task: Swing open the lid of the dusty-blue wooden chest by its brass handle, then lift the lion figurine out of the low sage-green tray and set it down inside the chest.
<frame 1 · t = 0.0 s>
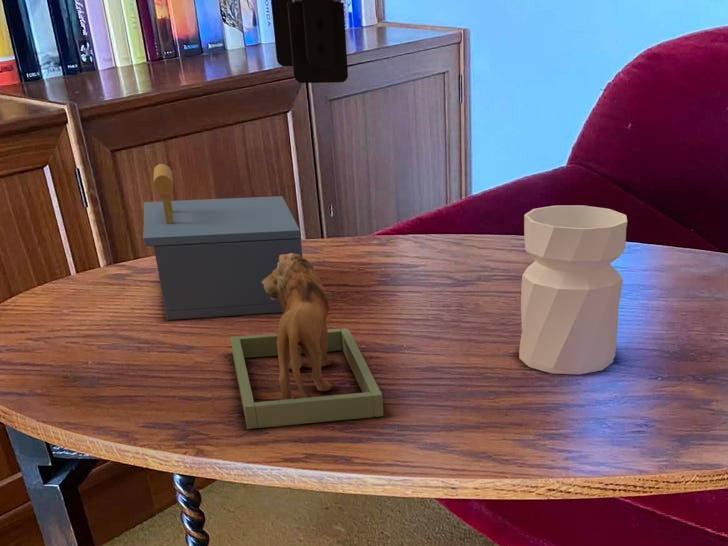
hand: (310, 73, 62), 23 cm above the table, tool pointing down, fingers open, 9 cm apart
lid: (215, 196, 96), point 10 cm above the table, hinge at 0.0°
lion figurine: (302, 380, 83), resting in tray
tray: (303, 384, 81), on the table
chest: (233, 292, 102), on the table
vase: (566, 359, 87), on the table
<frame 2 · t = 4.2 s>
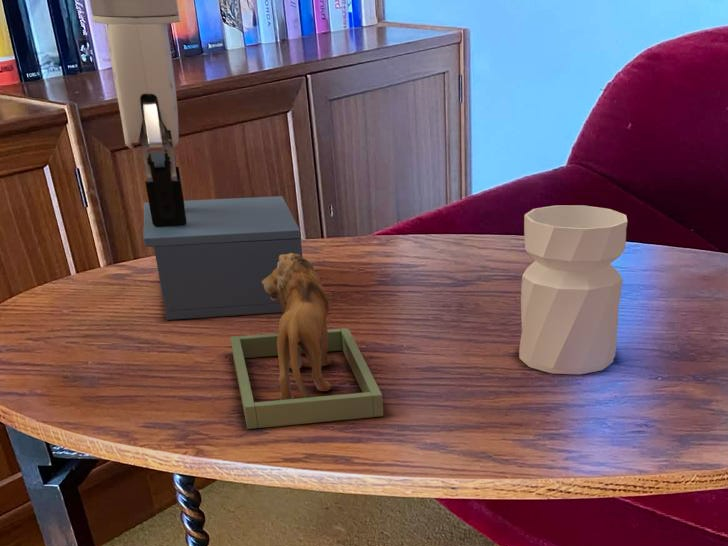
hand: (169, 215, 96), 8 cm above the table, tool pointing down, fingers closed on lid, 6 cm apart
lid: (215, 196, 96), point 10 cm above the table, hinge at -0.2°, touching gripper
everything else where it was.
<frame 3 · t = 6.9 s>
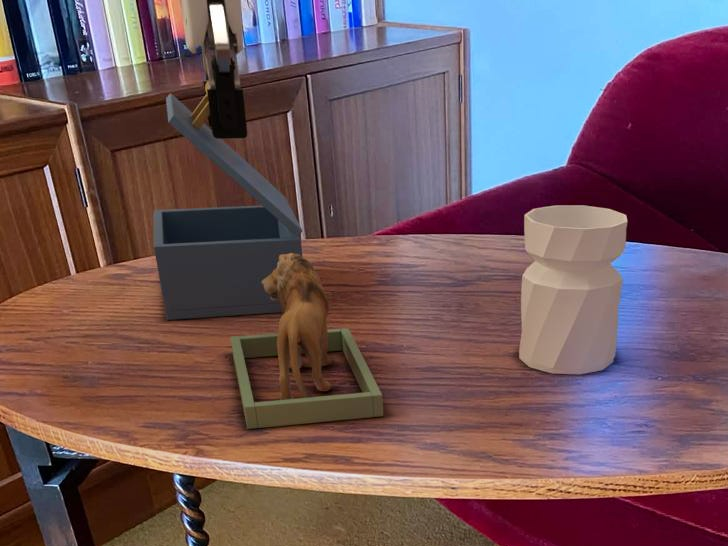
hand: (227, 130, 93), 15 cm above the table, tool pointing down, fingers closed on lid, 6 cm apart
lid: (246, 145, 95), point 14 cm above the table, hinge at 44.3°, touching gripper
everything else where it was.
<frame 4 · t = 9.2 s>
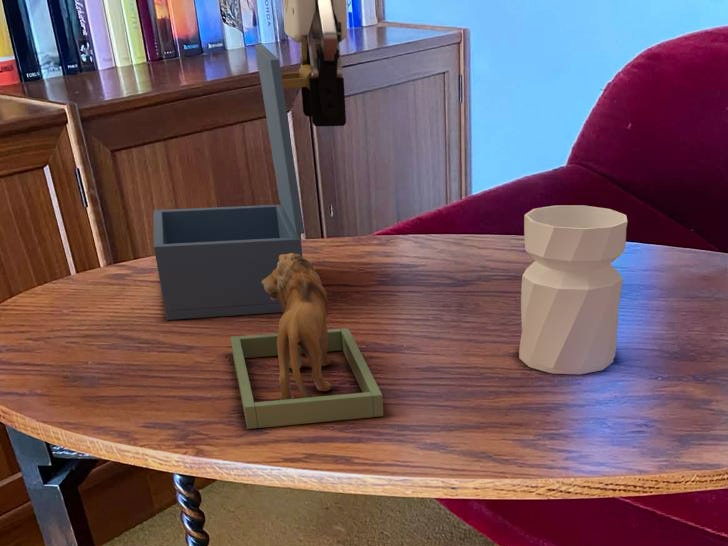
hand: (324, 118, 95), 16 cm above the table, tool pointing down, fingers closed on lid, 6 cm apart
lid: (301, 135, 95), point 15 cm above the table, hinge at 86.6°, touching gripper
everything else where it was.
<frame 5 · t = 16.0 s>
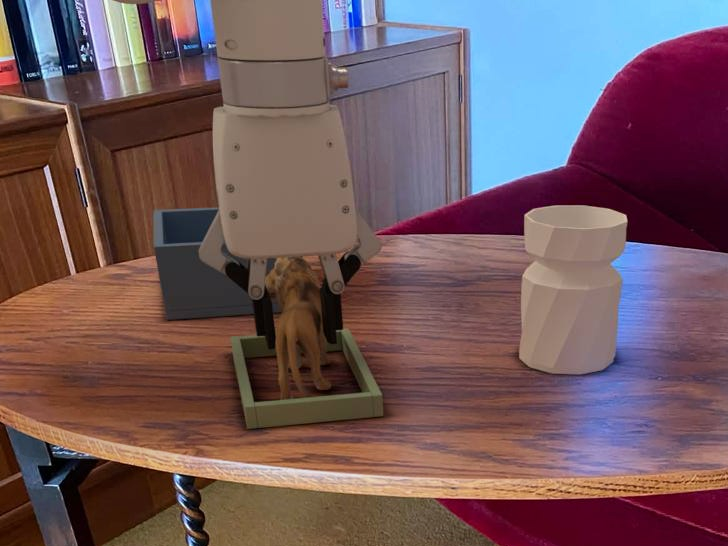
hand: (300, 339, 79), 4 cm above the table, tool pointing down, fingers closed on lion figurine, 4 cm apart
lid: (302, 135, 95), point 15 cm above the table, hinge at 87.0°
lion figurine: (302, 379, 83), resting in tray, touching gripper
everything else where it was.
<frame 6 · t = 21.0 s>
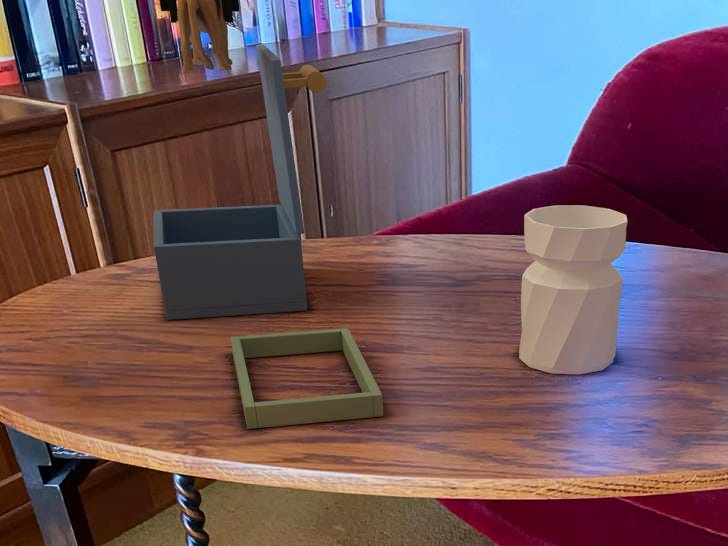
hand: (201, 19, 85), 25 cm above the table, tool pointing down, fingers closed on lion figurine, 4 cm apart
lion figurine: (204, 70, 89), point 21 cm above the table, touching gripper
everything else where it was.
when the fingers open (7 cm above the table, at t = 26.1 s): lion figurine moves 1 cm, resting on chest.
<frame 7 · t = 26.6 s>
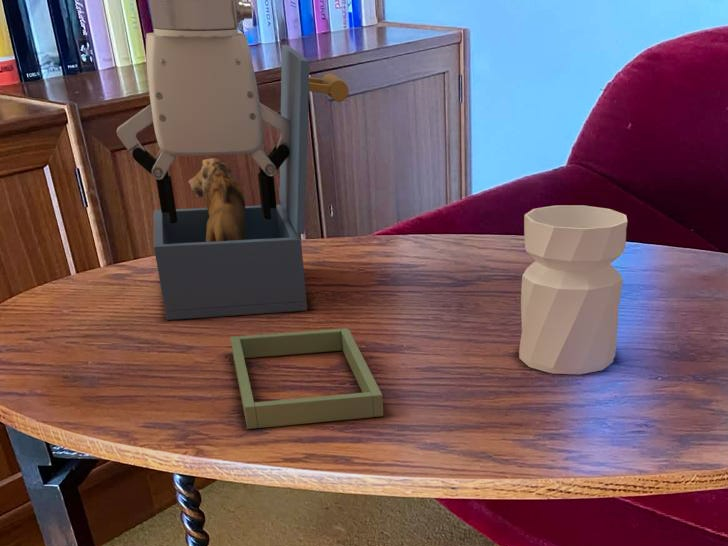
hand: (220, 218, 98), 7 cm above the table, tool pointing down, fingers open, 8 cm apart
lid: (315, 140, 96), point 14 cm above the table, hinge at 97.2°
lion figurine: (226, 266, 103), point 2 cm above the table, touching chest
everything else where it was.
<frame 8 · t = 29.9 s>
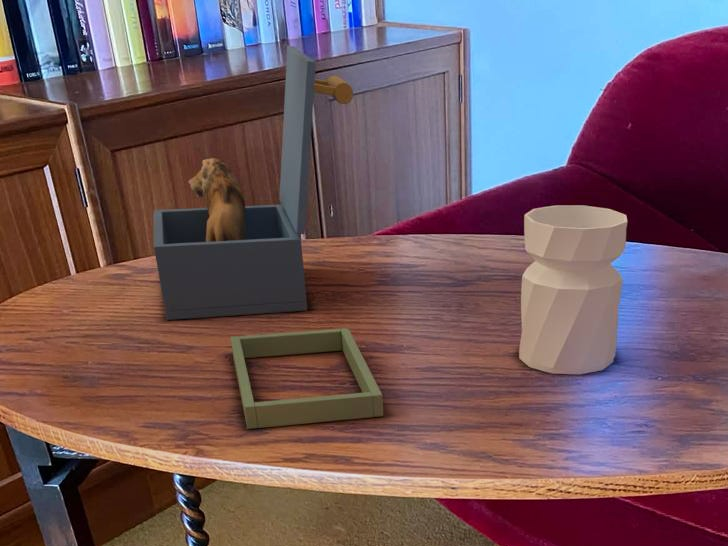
lid: (317, 141, 96), point 14 cm above the table, hinge at 99.3°
everything else where it was.
at the end: lid at +99° (first picture: +0°); lion figurine inside the target area in the chest (2.5 cm from its centre), point 2.1 cm above the chest's base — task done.
